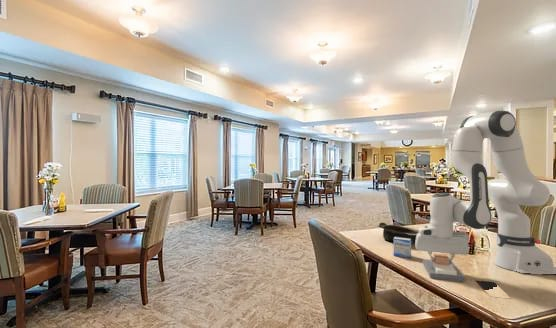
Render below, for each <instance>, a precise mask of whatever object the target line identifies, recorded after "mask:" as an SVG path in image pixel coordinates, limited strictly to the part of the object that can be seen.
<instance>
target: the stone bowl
mask: <svg viewBox="0 0 556 328" xmlns="http://www.w3.org/2000/svg"><path fill="white" fill-rule="evenodd" d="M377 227H379V228H381V229H383V231H382V237H383V240H384V241H385V240H386V241H391V242H394V237H400V238H408V239H411V244H413V243H415V240H416V235H417V234H418V233H419V231H418V229H416V228H412V227H408V226H403V225H399V224H386V223H385V222H380V223H379V225H377Z"/></svg>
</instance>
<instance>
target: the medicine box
mask: <svg viewBox="0 0 556 328" xmlns="http://www.w3.org/2000/svg"><path fill="white" fill-rule="evenodd" d="M392 253H393V254H392V255H393V256H394V257H399V258H400V257H402V258H406V259H407V258H408V259H411V256H412V243H411V239H408V238H400V237H394V240H393V251H392Z"/></svg>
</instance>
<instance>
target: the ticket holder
mask: <svg viewBox="0 0 556 328" xmlns="http://www.w3.org/2000/svg"><path fill="white" fill-rule="evenodd" d="M422 264H423V266H424V268H425V271H426V272H427V275H428V276H429V278H430V279H437V280H445V281H454V282H461V281H462V282H465V275H464V274H463V273H462V272H461V270H460V269H459V268H458V266H456V264H455V263H454V262H453V261H452V264H449V265H443V264H434V263H433V262H431V260H430V259H425V258H422Z"/></svg>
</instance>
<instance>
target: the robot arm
mask: <svg viewBox="0 0 556 328" xmlns="http://www.w3.org/2000/svg"><path fill="white" fill-rule="evenodd" d="M485 139H489V141H490V147H491V148H490V149H491V154H492V160H493V161H492V162H493V166H494V168H495V170H497V171H498V172H499V173H501V174H502V175H503V177H504V178H494V179H488V172H487V169H486V167H485V166H484V163H483V158H482V157H483V142H484V140H485ZM450 156H451V157H450V159H451V160H450V162H451V165H452V167H453V168H454V169H455V170H456V171H457V172H459V173H461V174H462V175H464V176H465V177H466V178H467V180H468V182H469V194H470V195H469V197H470V198H469V199H470V200H469V201H466V200H462V199H459V198H457V197H455V196H453V194H451V193H449V192H438V193H434V194H432V196H431V198H430V202H429V214H430V219H429V224H427V225H426V224H425V225H424V226H423V225H422V226H419V227H418V229H417V230H418V231H419V233H418V234H417V235H416V240H415V242H414V247H415V249H416V250H417V251H419V252H427V254H428V256H429V257H430V259H429V260H431V262H435V258H434V257H433V256H432V255H433V253H439V254H450V257H449V264H452V262H453V260H454V258H455V256H456V255H464V256H467V255H468V254H469V253H470V247H469V242H470V236H469V234H468V233H466V232H465V231H464V232H463V231H454V222H456V223H459V224H462V225H465V226H467V227H469V228H471V229H474V230H482V229H483V228H486V227H487V226H488V225H489V224H490V223H491V221H492V211H491V207H490V203H489V200H490V201H491V202H492V204H493V206H494V208H495V210H496V214H497V222H498V223H497V229H498V230H497V232H496V234H497V235H496V246H497V248H496V254H495V257H494V260H493V264H494V265H496V266H498V267H500V268H503V269H506V270H510V271H514V272H516V271H517V273H519V272H520V273H519V274H523V273H531V274H530V275H542V274H556V266H555V263H554V260H553V258H552V257H551V255H549V254H548V253H547V252H545V251H544V250H542V249H541V248H539V247H538V246H537V245H541V239H540V238H539V239H538V238H535V237H533V236H531V219H530V217H529V216H528V215H527V214H525V212H523V210H522V209H521V206H524V207H525V206H526V207H538V206H540V207H541V206H543V205H546V204H547V203H548V201H549V199H550V197H551V191H550V189H549V187H548V186H547V185H546V184H545V183H543V182H541V181H540V180H539V179H538V178H537V177H536V176H535V175H534V173H533V172H532V171H531V170H530V167H529V166H528V162H527V160H526V155H525V149H524V143H523V139H522V136H521V134H520V132H519V129H518V127H517V121H516V118H515V116H514V115H513V113H512V112H510V111H509V110H497V111H496V110H495V111H487V112H482V113H480V114H477V115H476V114H475V115H471V116H468V117H466V118H464V119H463V120H462V122H461V123H460V126H459V128H458V129H457V130H456V131H455V134H454V137H453V141H452V147H451V154H450Z"/></svg>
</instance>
